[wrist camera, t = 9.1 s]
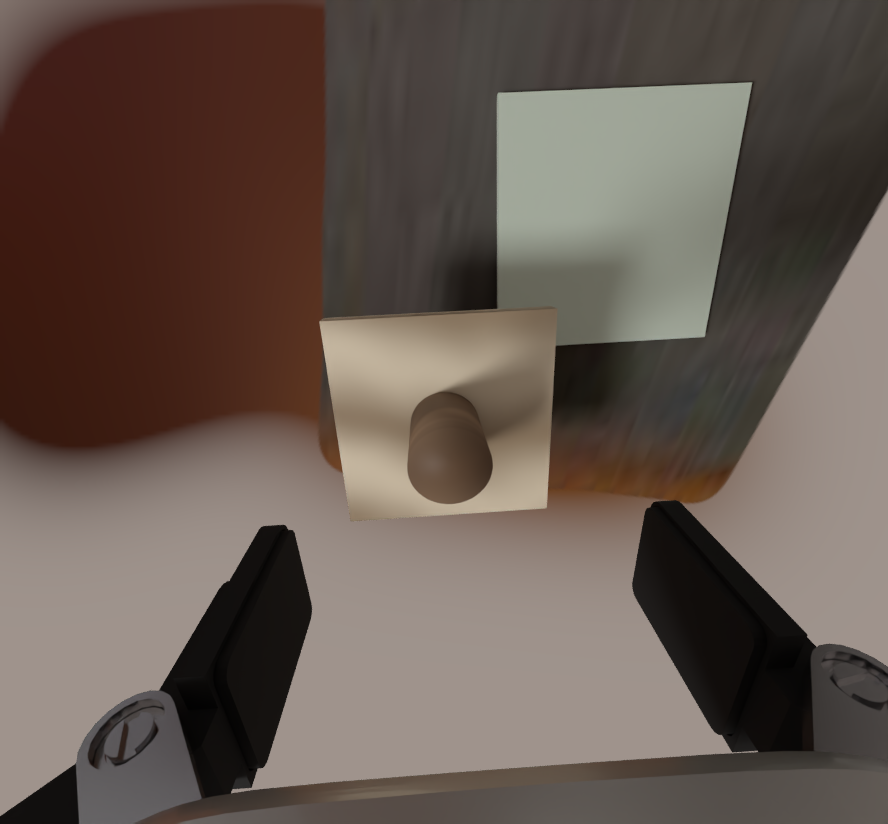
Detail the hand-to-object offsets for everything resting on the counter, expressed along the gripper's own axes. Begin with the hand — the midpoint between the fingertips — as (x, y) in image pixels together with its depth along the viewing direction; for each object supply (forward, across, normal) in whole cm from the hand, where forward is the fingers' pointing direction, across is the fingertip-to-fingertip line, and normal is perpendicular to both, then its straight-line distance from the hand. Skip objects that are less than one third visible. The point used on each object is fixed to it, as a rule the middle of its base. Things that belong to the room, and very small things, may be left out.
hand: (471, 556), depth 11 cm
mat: (+19, -11, -8) cm, 23 cm away
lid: (+11, 0, +1) cm, 11 cm away
